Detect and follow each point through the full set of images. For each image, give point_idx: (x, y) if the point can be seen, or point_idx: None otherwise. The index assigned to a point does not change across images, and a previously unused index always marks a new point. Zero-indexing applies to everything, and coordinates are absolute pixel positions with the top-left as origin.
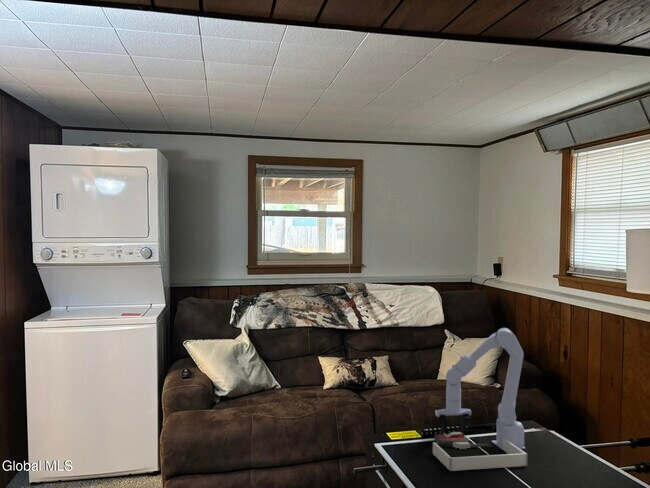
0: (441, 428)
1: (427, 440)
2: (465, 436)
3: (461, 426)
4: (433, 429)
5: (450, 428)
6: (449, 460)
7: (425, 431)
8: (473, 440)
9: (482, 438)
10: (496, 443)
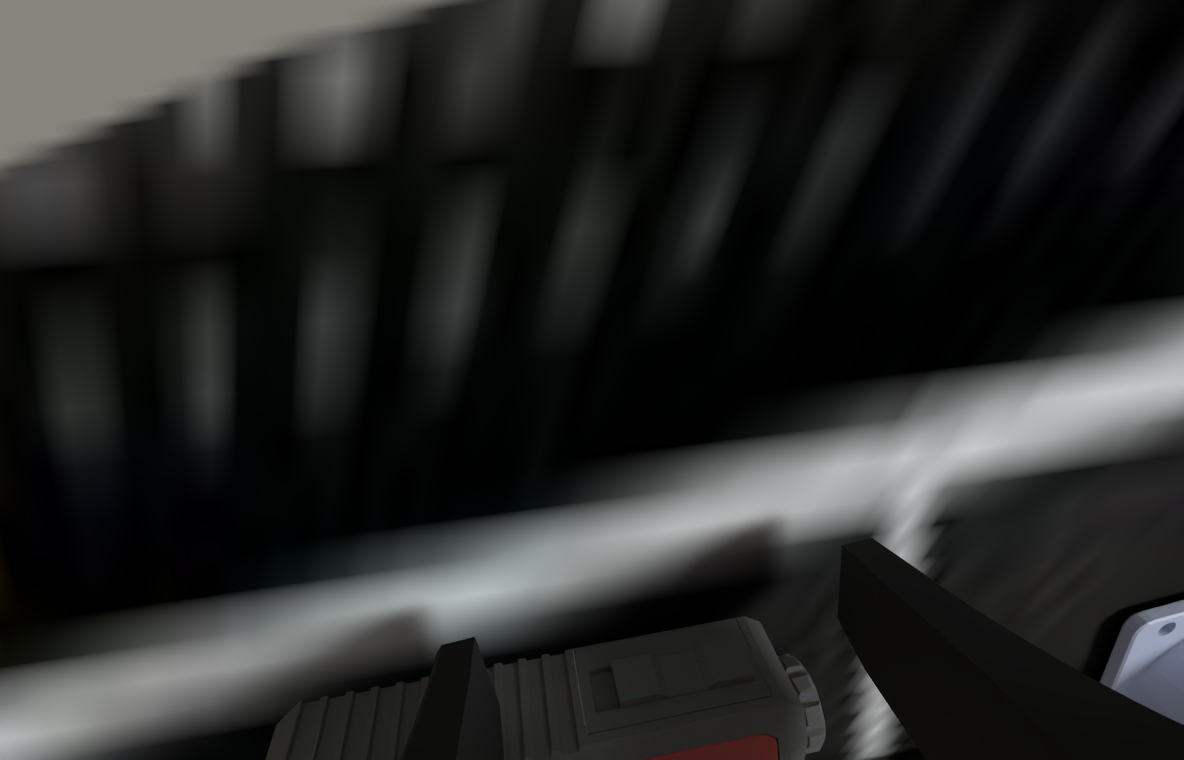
0: (411, 747)
1: (136, 730)
2: (818, 747)
3: (937, 699)
4: (279, 117)
5: (820, 5)
6: None
7: (25, 301)
8: None
9: (1107, 510)
10: (1126, 687)
